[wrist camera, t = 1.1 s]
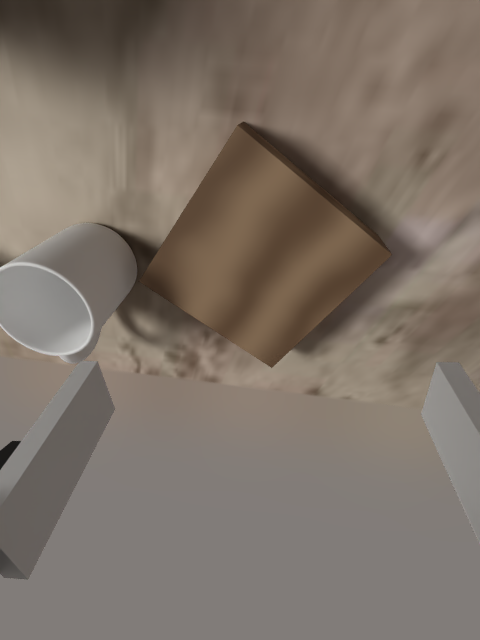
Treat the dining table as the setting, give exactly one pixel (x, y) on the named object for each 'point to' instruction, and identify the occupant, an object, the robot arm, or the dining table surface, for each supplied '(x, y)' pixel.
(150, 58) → the dining table surface
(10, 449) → the robot arm
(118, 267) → the mug
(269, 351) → the walnut block
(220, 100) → the dining table surface
